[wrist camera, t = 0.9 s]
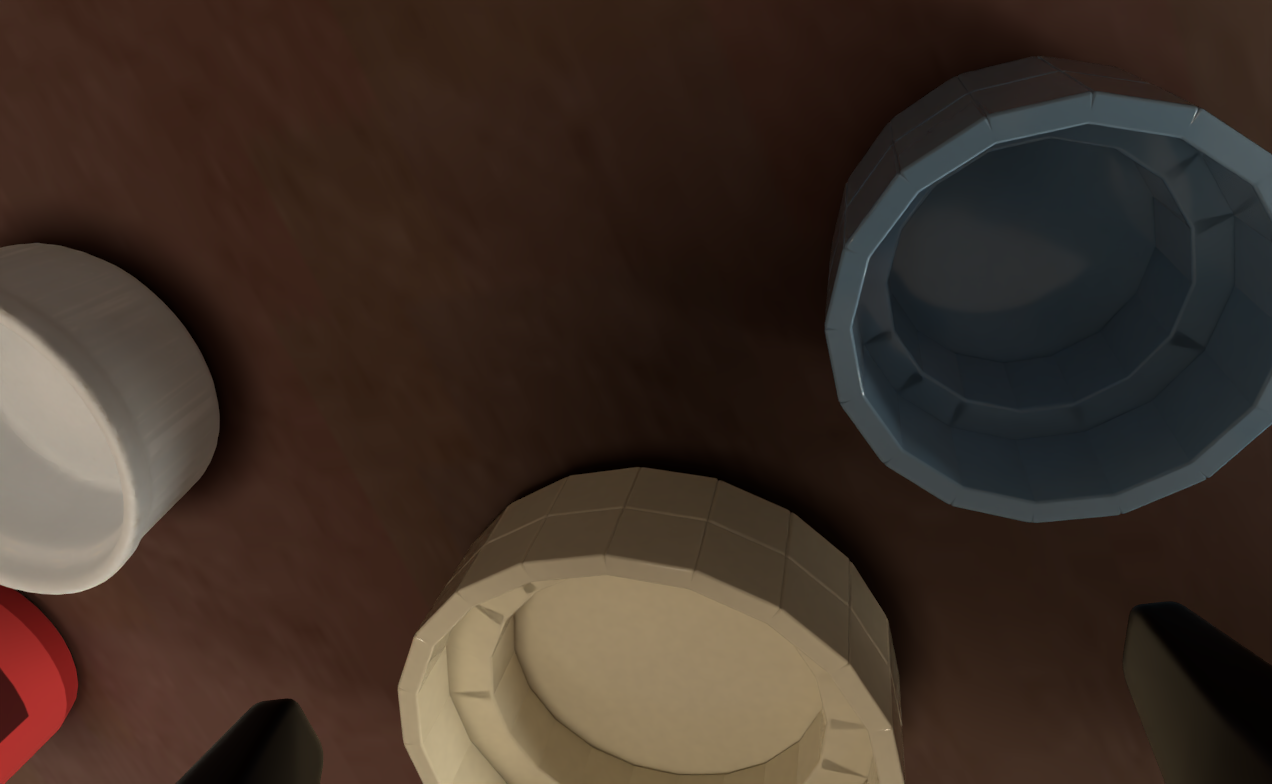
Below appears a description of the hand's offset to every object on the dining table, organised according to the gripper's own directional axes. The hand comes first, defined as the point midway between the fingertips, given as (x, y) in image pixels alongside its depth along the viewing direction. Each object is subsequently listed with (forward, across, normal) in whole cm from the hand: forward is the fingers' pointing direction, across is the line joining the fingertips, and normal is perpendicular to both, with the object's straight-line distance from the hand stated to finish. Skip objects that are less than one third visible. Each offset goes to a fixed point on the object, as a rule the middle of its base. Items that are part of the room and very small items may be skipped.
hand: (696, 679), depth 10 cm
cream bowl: (+11, +2, +12) cm, 16 cm away
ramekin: (+15, +17, +2) cm, 23 cm away
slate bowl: (+11, -7, +1) cm, 13 cm away
